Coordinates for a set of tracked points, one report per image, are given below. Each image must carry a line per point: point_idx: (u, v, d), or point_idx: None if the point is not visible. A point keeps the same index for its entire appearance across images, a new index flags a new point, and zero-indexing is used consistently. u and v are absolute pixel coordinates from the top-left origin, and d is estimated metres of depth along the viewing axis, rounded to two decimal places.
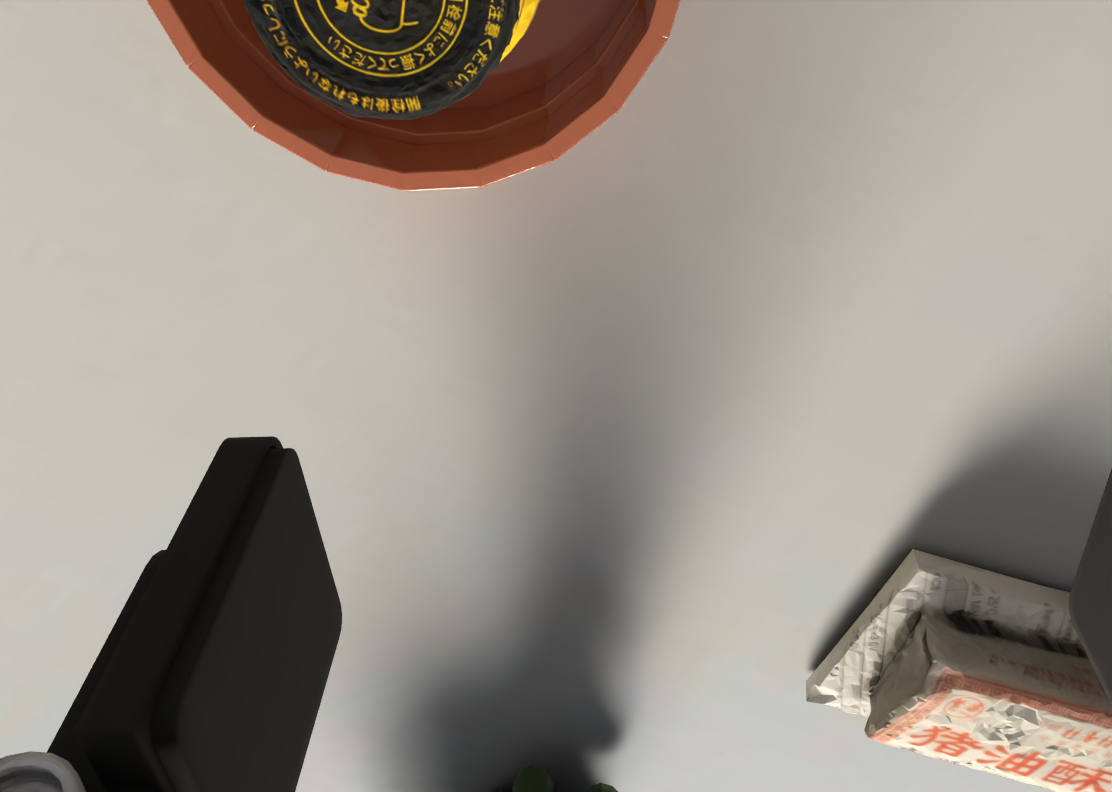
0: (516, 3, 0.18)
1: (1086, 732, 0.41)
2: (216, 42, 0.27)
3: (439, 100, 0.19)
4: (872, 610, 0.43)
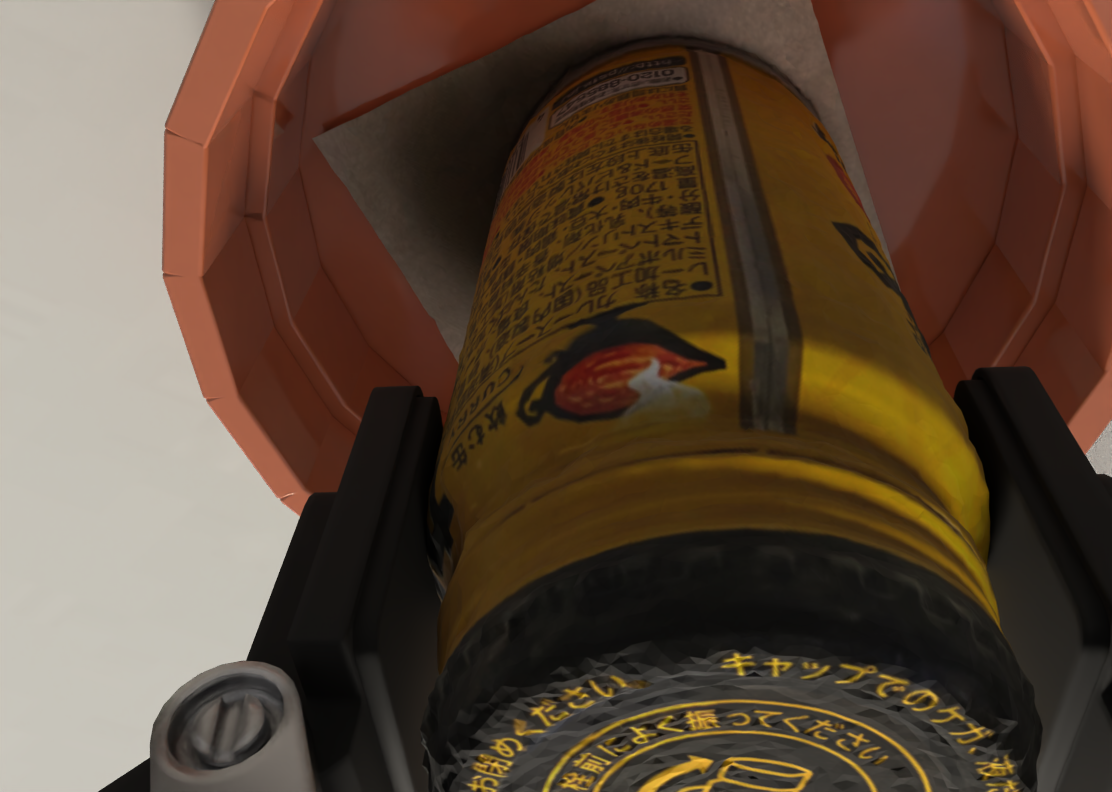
0: None
1: None
2: (320, 445, 0.18)
3: None
4: None
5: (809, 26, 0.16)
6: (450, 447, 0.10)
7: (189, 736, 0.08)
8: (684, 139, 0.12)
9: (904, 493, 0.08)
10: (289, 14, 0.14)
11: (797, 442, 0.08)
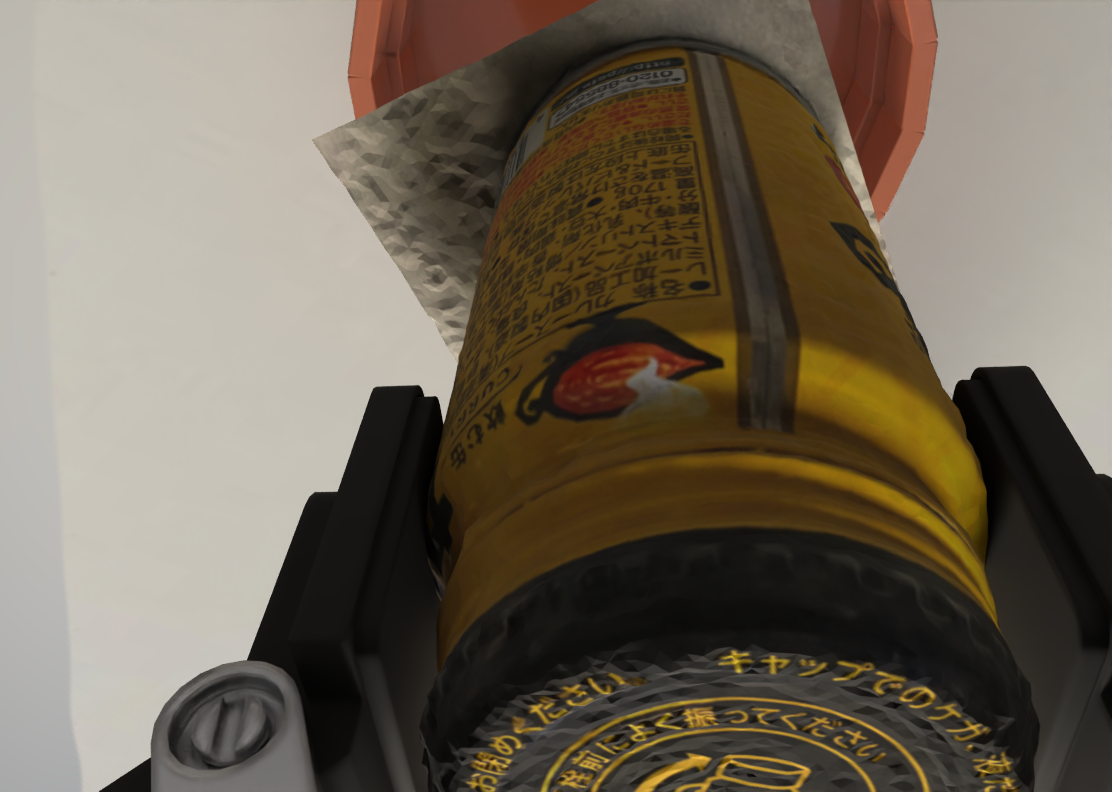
0: None
1: None
2: None
3: None
4: None
5: (808, 27, 0.16)
6: (449, 447, 0.10)
7: (190, 736, 0.08)
8: (682, 140, 0.12)
9: (901, 491, 0.08)
10: None
11: (795, 441, 0.08)
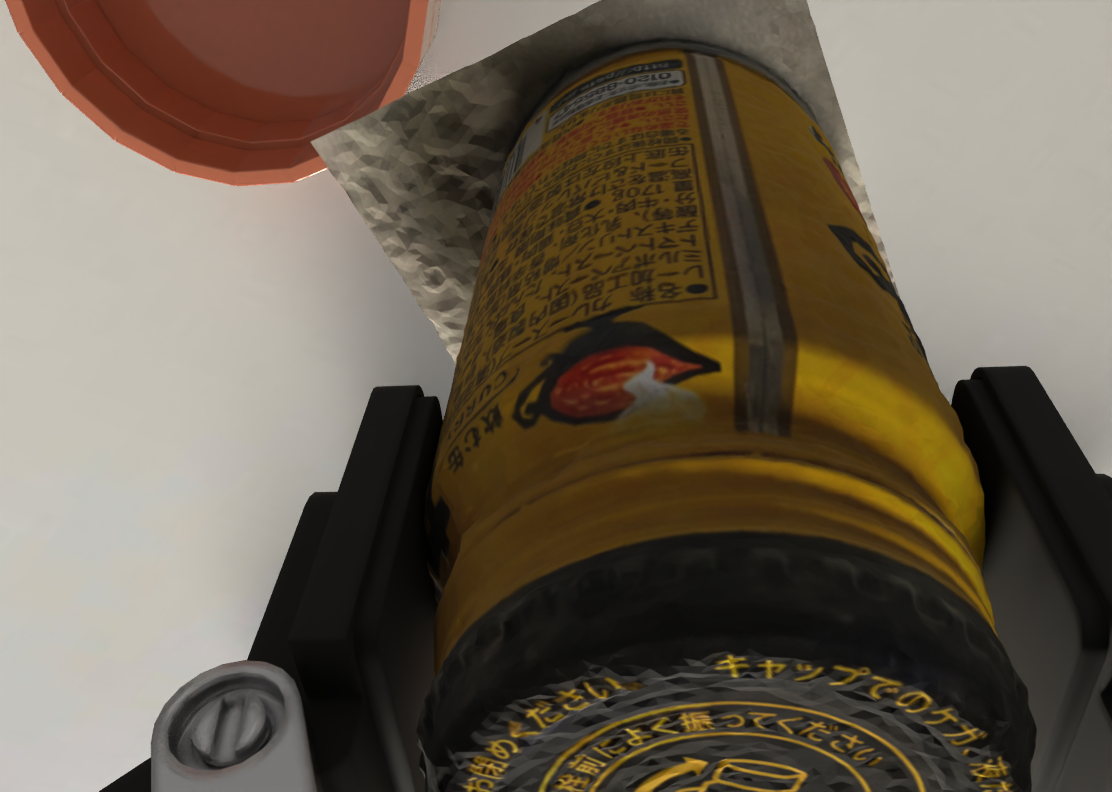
0: None
1: None
2: (85, 74, 0.36)
3: None
4: None
5: (807, 28, 0.16)
6: (447, 450, 0.10)
7: (190, 736, 0.08)
8: (681, 142, 0.12)
9: (898, 495, 0.08)
10: None
11: (792, 445, 0.08)
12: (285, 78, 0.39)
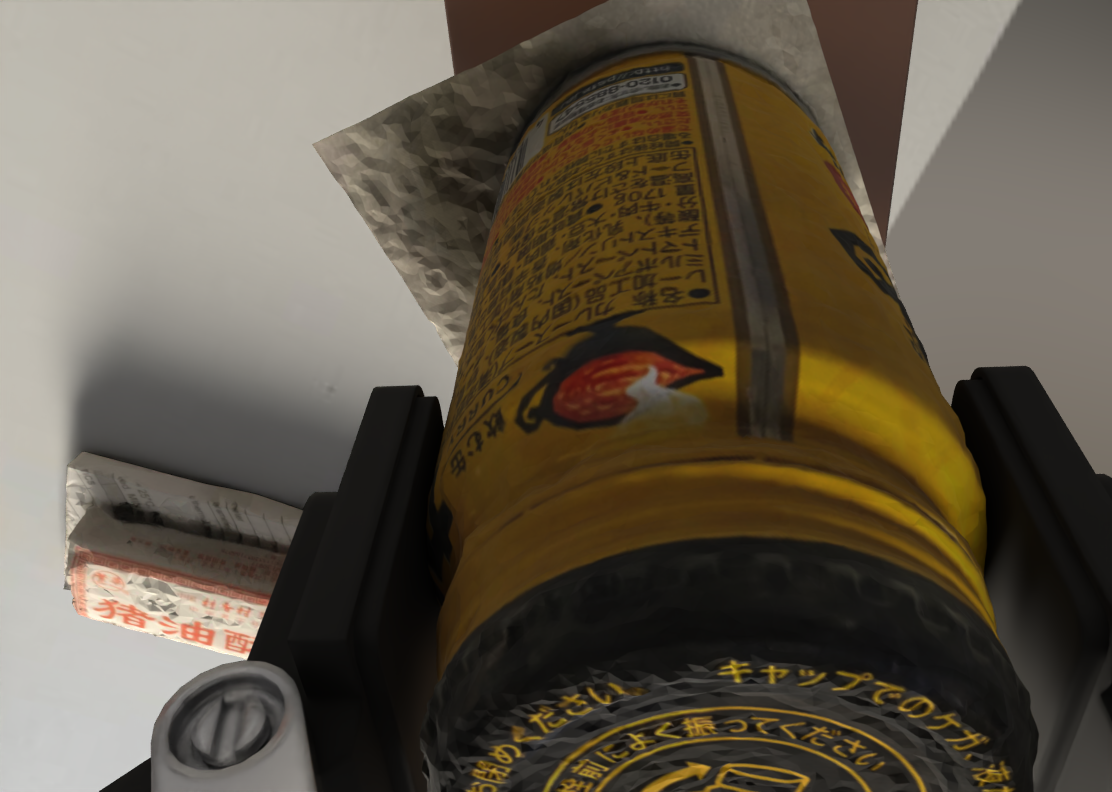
0: None
1: (220, 602, 0.50)
2: None
3: None
4: None
5: (808, 31, 0.16)
6: (449, 454, 0.10)
7: (190, 736, 0.08)
8: (682, 147, 0.12)
9: (901, 500, 0.08)
10: None
11: (794, 449, 0.08)
12: None
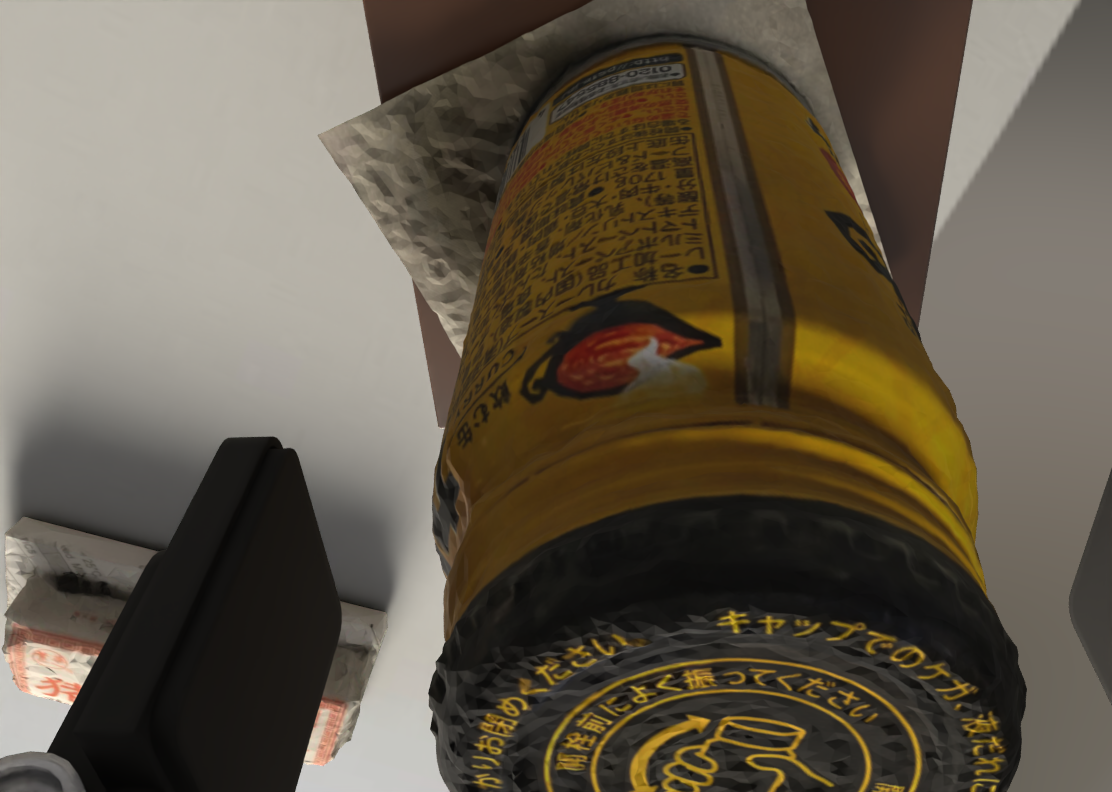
0: None
1: None
2: None
3: None
4: None
5: (804, 24, 0.16)
6: (456, 426, 0.10)
7: None
8: (681, 132, 0.13)
9: (893, 464, 0.08)
10: None
11: (790, 416, 0.09)
12: None
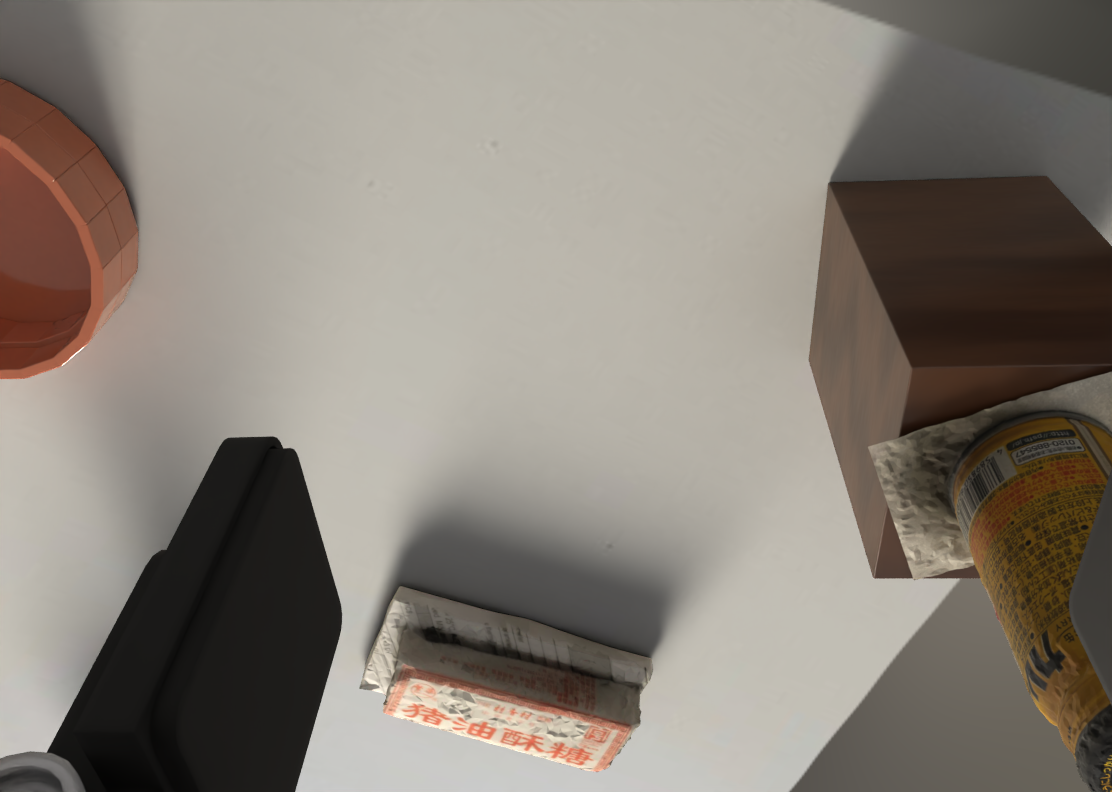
0: None
1: (509, 708, 0.63)
2: None
3: None
4: None
5: None
6: (1061, 633, 0.28)
7: None
8: None
9: None
10: None
11: None
12: (30, 293, 0.52)
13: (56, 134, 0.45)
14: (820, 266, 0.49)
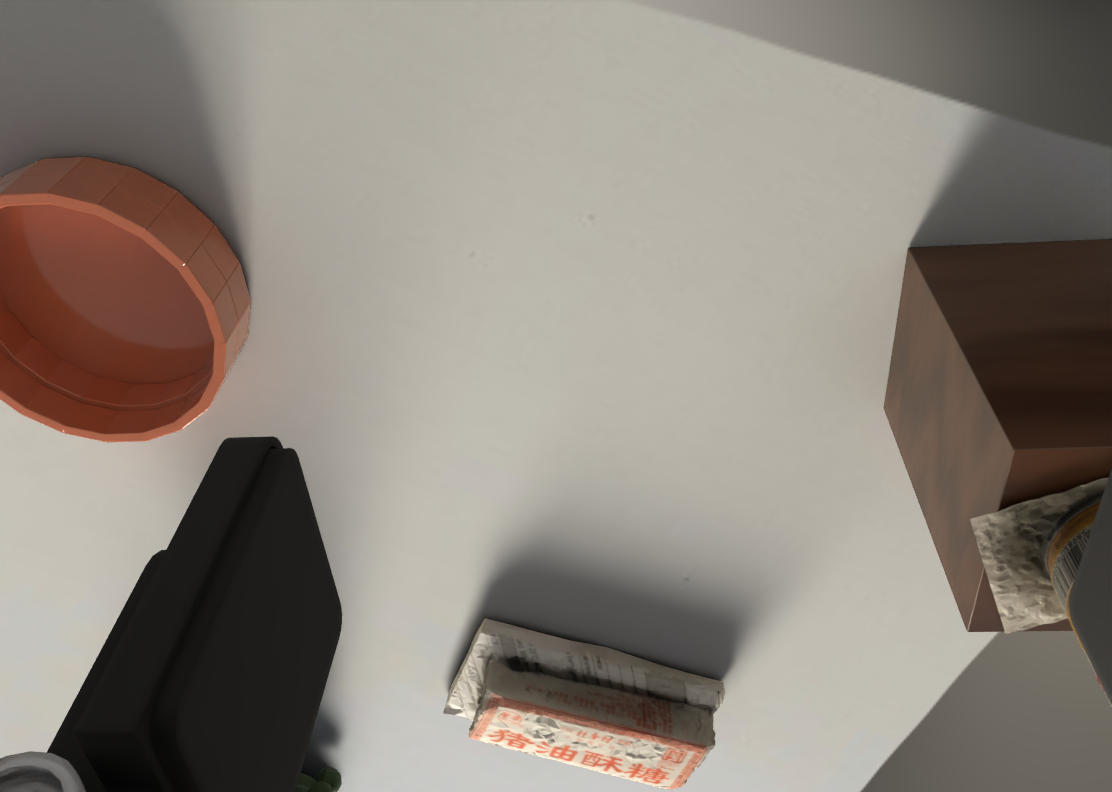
0: None
1: (591, 733, 0.66)
2: (0, 369, 0.52)
3: None
4: (467, 655, 0.68)
5: None
6: None
7: None
8: None
9: None
10: None
11: None
12: (146, 358, 0.55)
13: (181, 218, 0.48)
14: (898, 323, 0.51)
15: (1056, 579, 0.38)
